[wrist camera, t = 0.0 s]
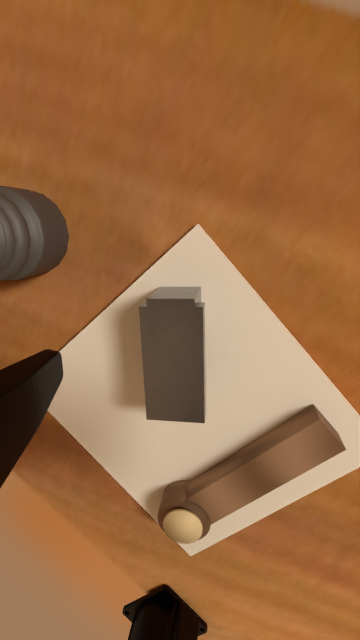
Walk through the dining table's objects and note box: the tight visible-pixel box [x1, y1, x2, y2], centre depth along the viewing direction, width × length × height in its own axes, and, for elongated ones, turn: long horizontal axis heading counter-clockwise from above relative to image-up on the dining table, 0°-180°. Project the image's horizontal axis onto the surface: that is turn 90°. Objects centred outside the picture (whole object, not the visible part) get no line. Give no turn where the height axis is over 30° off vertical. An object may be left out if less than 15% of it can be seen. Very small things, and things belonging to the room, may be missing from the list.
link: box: [157, 404, 346, 540], centre depth 26 cm, size 16×4×2 cm, turn 132°
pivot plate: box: [47, 224, 360, 556], centre depth 26 cm, size 20×22×3 cm
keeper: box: [139, 287, 206, 423], centre depth 23 cm, size 8×4×4 cm, turn 2°
